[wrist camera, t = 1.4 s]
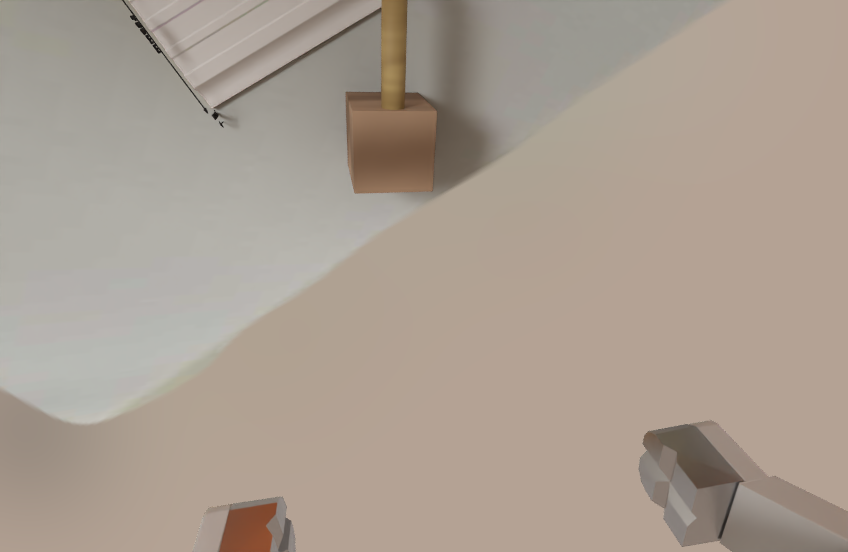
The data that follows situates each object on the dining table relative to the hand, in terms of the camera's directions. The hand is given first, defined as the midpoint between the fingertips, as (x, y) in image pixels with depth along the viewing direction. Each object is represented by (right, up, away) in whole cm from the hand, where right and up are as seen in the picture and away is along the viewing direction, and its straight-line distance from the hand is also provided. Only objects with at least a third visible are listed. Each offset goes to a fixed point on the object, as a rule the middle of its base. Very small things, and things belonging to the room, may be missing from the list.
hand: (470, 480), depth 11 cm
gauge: (-4, +18, +22) cm, 29 cm away
